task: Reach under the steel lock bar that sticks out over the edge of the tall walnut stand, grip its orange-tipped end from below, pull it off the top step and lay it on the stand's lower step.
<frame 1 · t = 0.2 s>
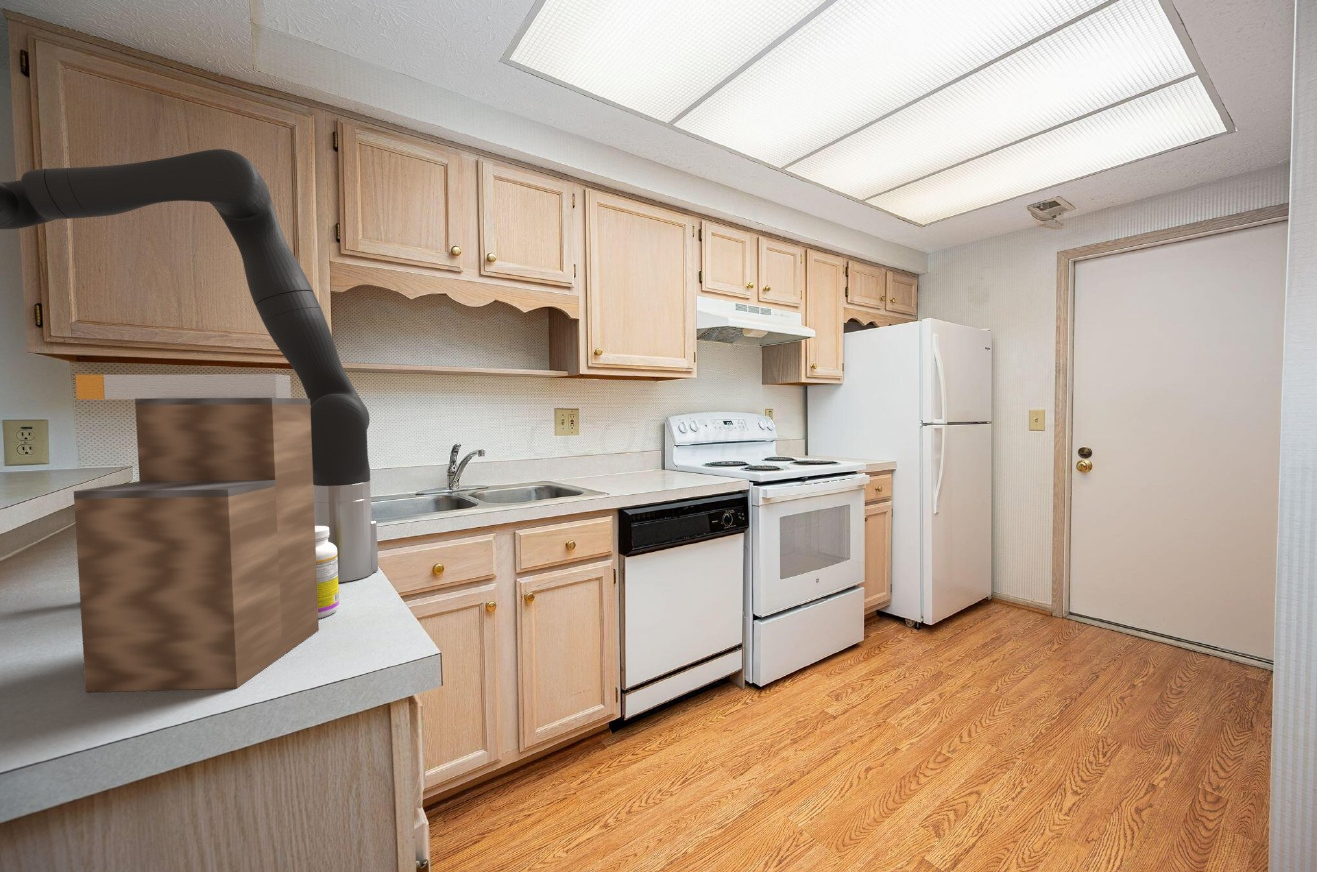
stand: (238, 643, 74), on the counter
supplement bottle: (313, 615, 84), on the counter
lock bar: (187, 398, 72), point 32 cm above the counter, touching stand
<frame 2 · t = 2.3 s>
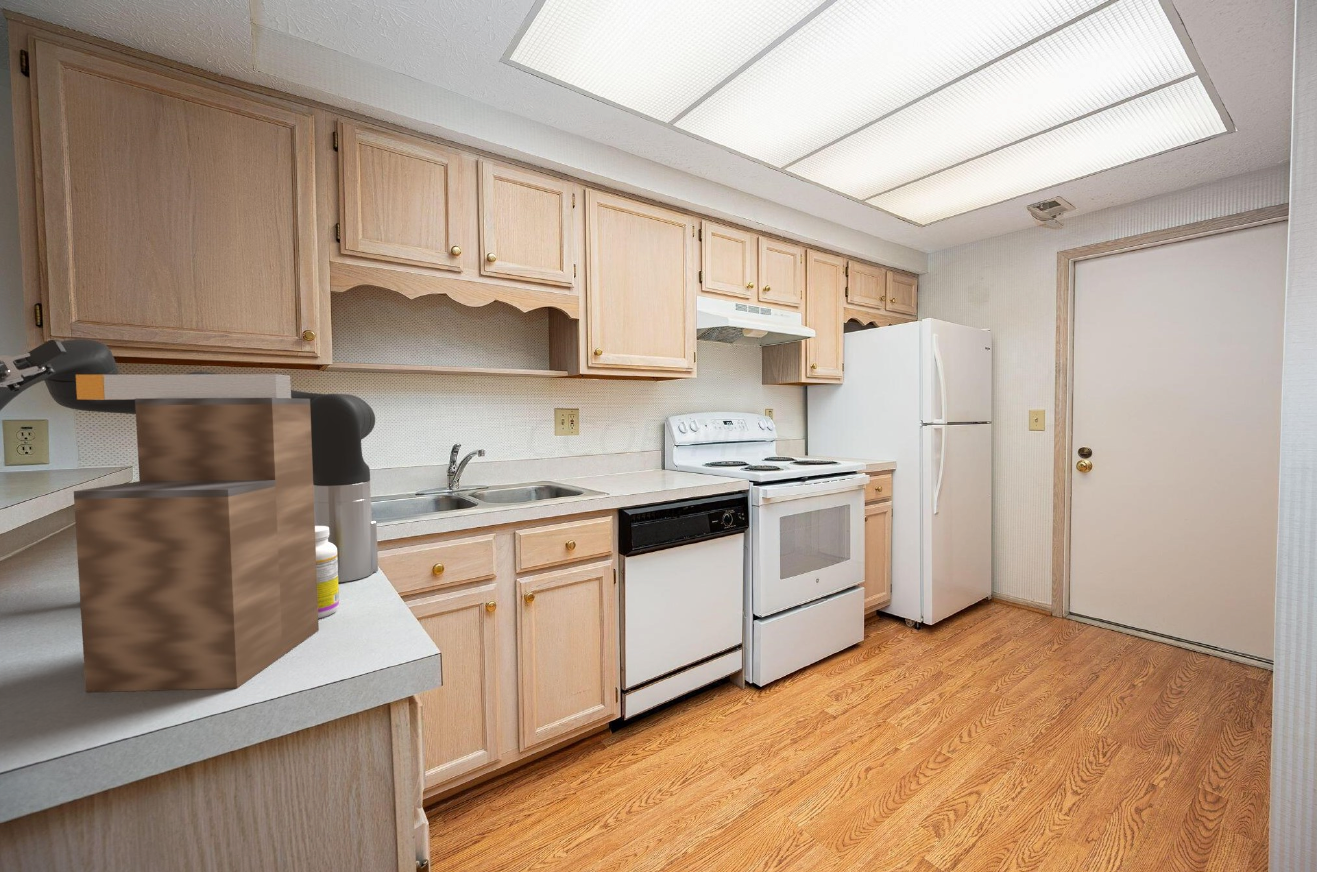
hand: (25, 342, 70), 39 cm above the counter, tool pointing upward, fingers open, 8 cm apart
nothing on the counter moved.
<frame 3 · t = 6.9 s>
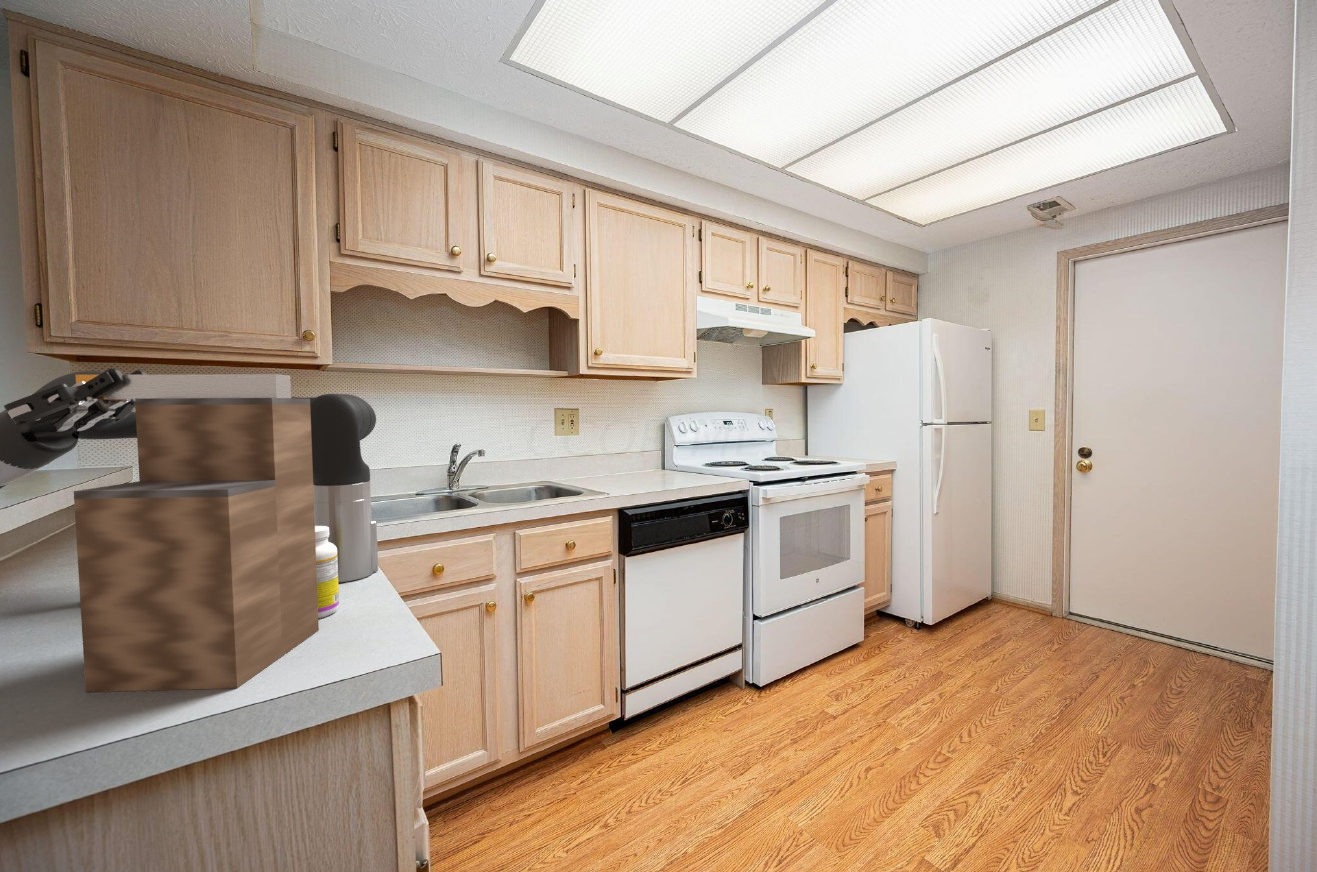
hand: (133, 376, 71), 35 cm above the counter, tool pointing upward, fingers closed on lock bar, 3 cm apart
lock bar: (187, 398, 72), point 32 cm above the counter, touching gripper, stand
everything else where it was.
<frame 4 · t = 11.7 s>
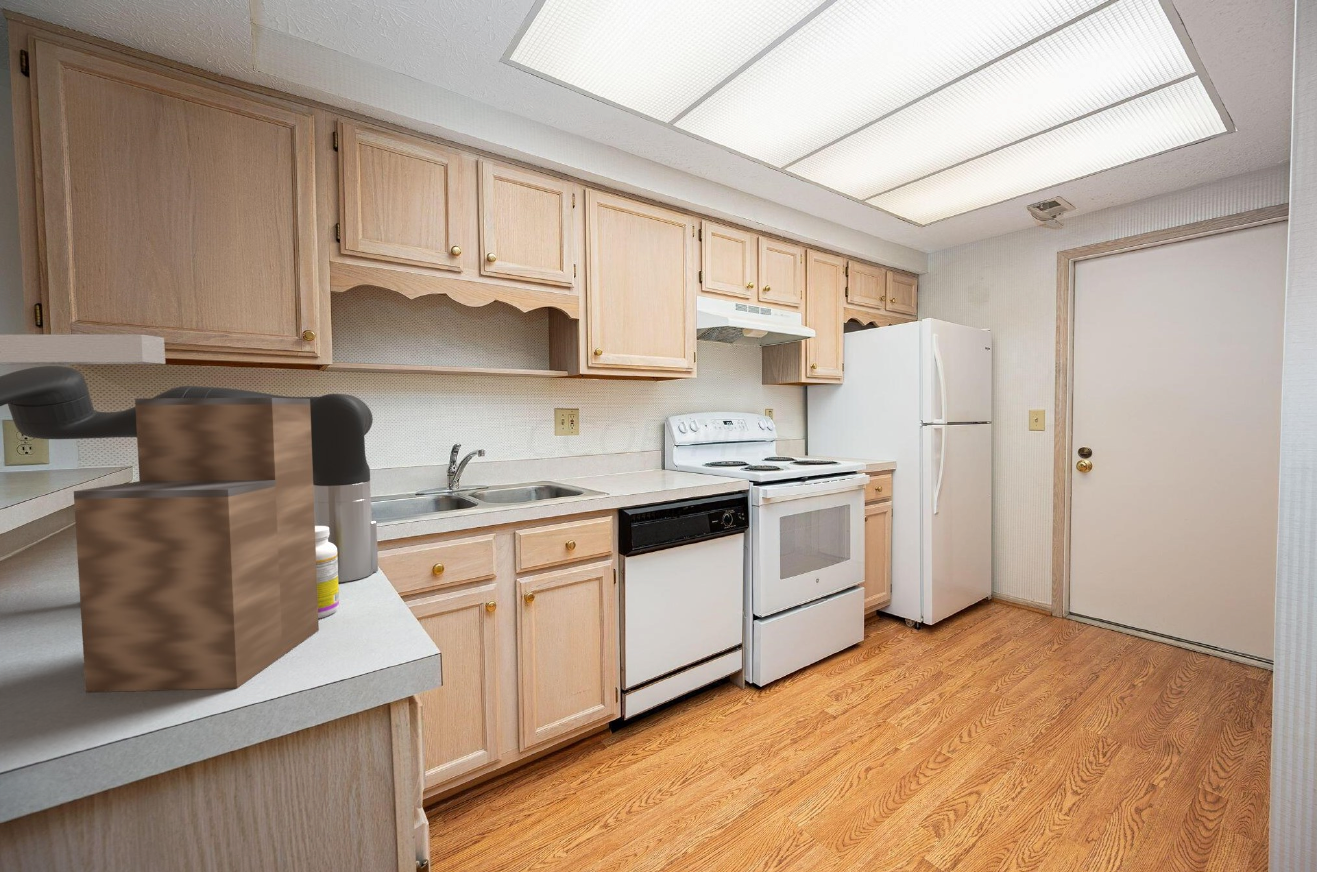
lock bar: (43, 363, 63), point 36 cm above the counter, touching gripper
everything else where it was.
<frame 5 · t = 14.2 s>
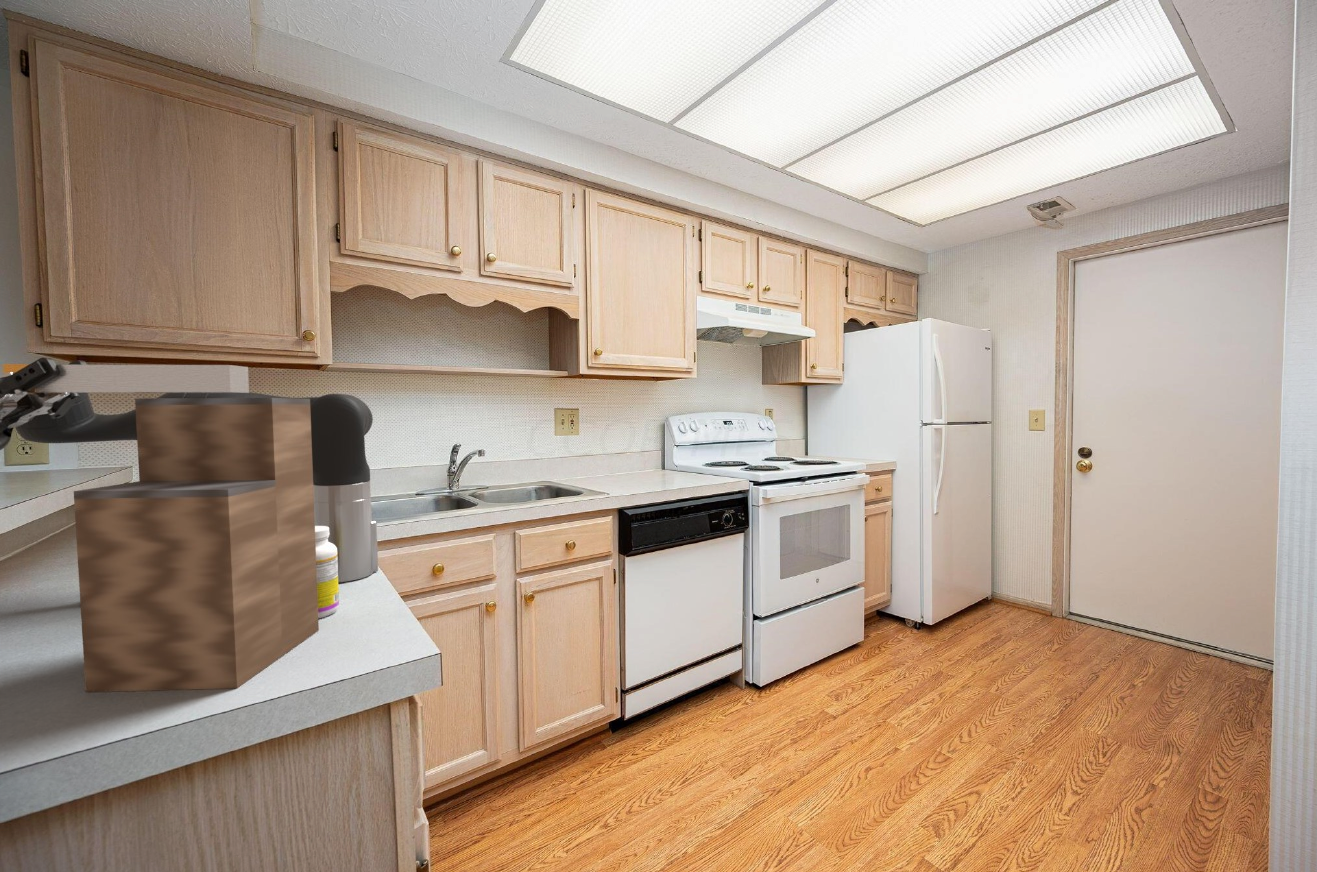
hand: (69, 366, 63), 36 cm above the counter, tool pointing upward, fingers closed on lock bar, 3 cm apart
lock bar: (130, 392, 64), point 33 cm above the counter, touching gripper
everything else where it was.
when the fingers open (26 cm above the counter, at t = 16.5 s): lock bar stays where it is, resting on stand.
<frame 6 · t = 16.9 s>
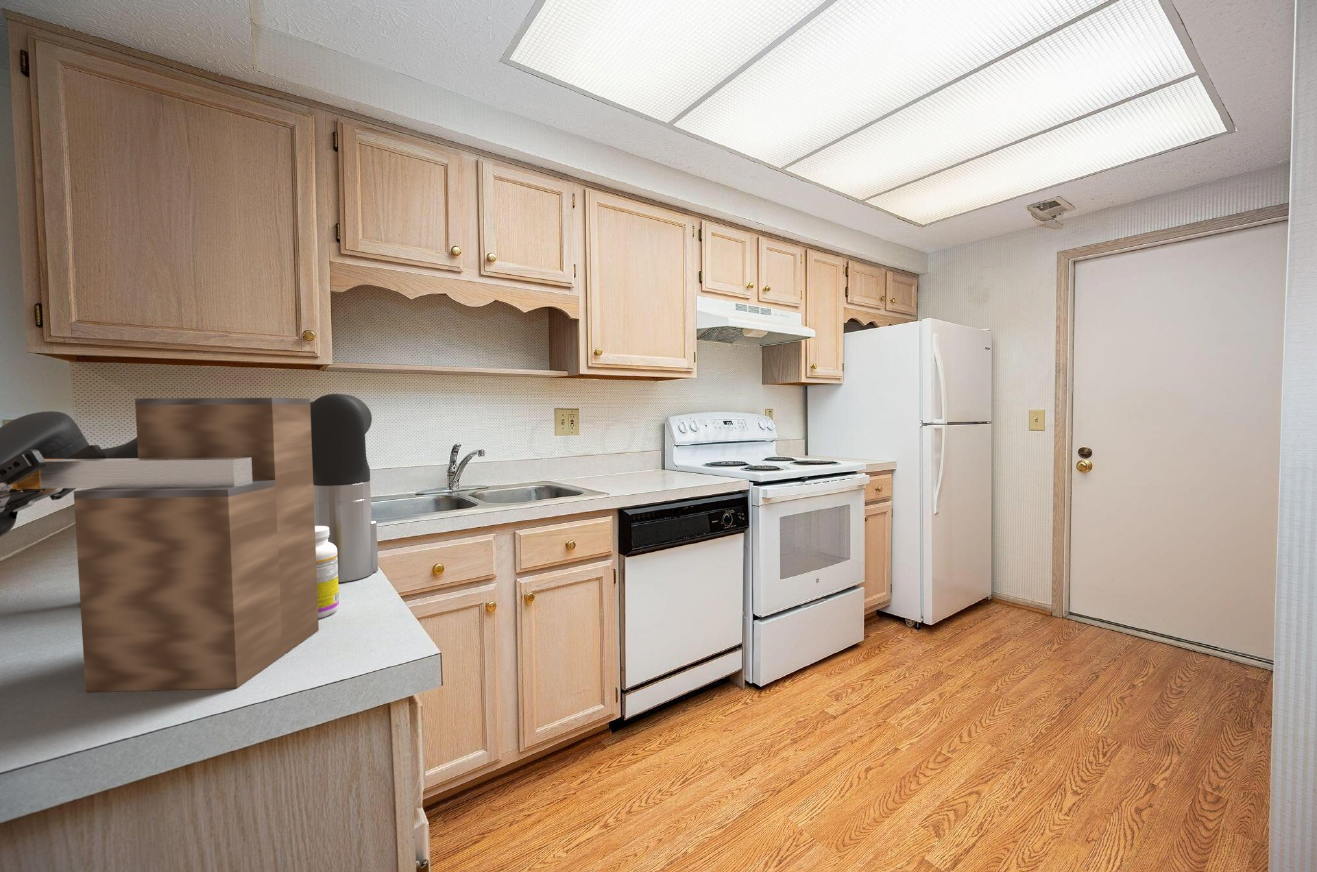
hand: (70, 454, 64), 26 cm above the counter, tool pointing upward, fingers open, 6 cm apart
lock bar: (135, 485, 64), point 22 cm above the counter, touching stand
everything else where it was.
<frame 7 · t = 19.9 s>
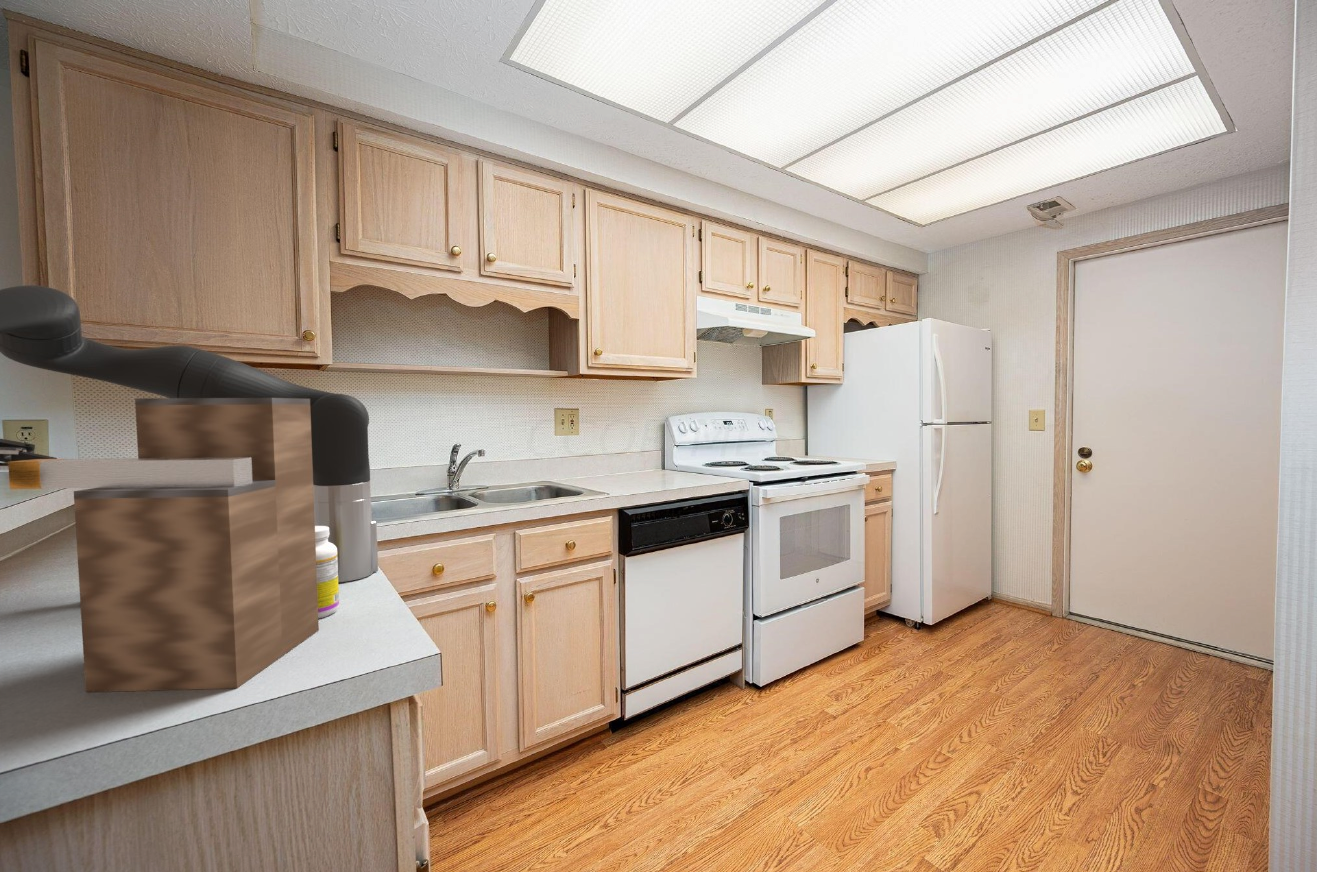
hand: (20, 476, 63), 23 cm above the counter, tool horizontal, fingers open, 8 cm apart
nothing on the counter moved.
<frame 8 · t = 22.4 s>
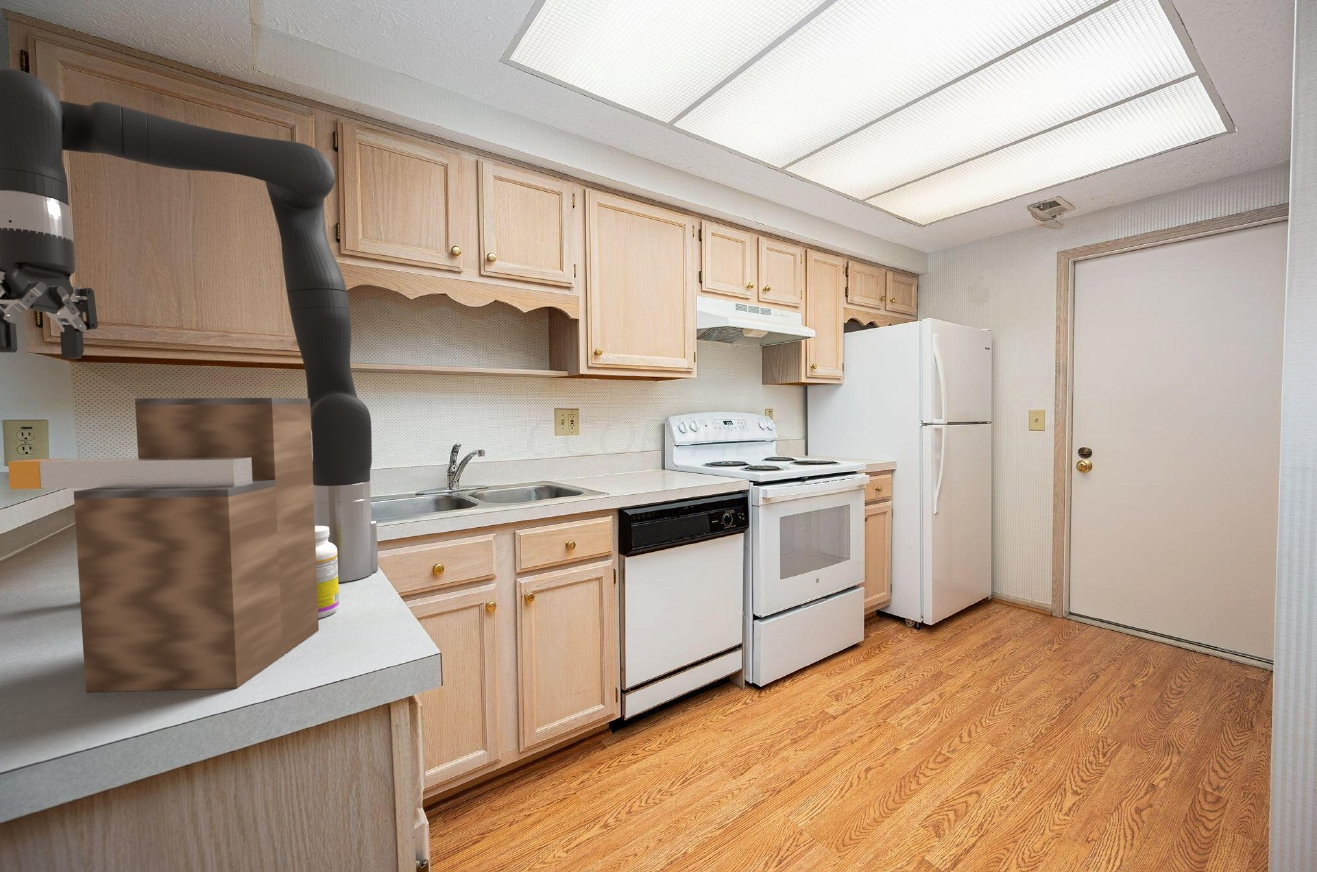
hand: (40, 355, 77), 38 cm above the counter, tool pointing down, fingers open, 8 cm apart
nothing on the counter moved.
at the end: lock bar inside the target area on the stand (0.1 cm from its centre), point 22.0 cm above the stand's base; the gripper is holding nothing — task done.
